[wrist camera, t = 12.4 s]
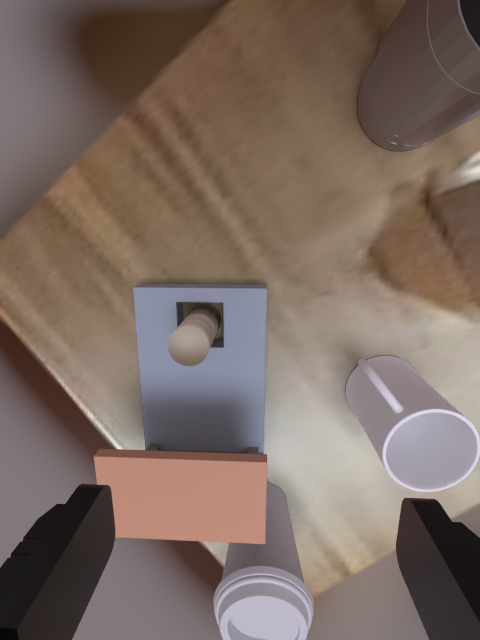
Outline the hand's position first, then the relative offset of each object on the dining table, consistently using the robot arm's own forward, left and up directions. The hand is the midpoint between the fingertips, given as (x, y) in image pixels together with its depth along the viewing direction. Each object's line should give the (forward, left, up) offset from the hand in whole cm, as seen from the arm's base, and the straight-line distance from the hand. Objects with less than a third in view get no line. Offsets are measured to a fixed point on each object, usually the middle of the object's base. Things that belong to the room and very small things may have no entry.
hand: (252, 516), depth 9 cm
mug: (+9, +14, -30) cm, 35 cm away
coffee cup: (+27, +1, -30) cm, 41 cm away
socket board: (+8, -6, -30) cm, 32 cm away
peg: (+2, -6, -30) cm, 31 cm away
